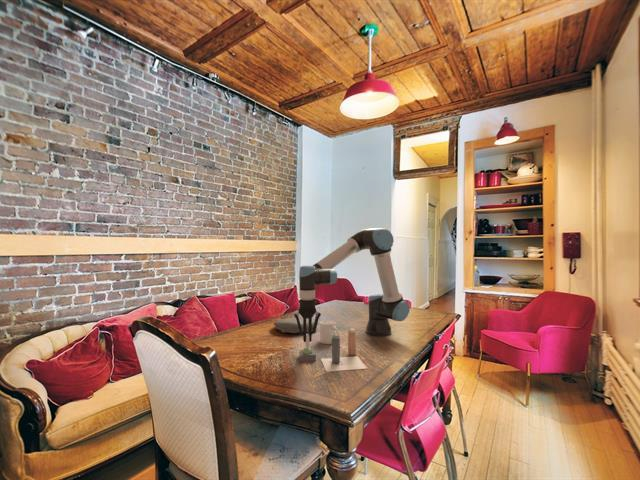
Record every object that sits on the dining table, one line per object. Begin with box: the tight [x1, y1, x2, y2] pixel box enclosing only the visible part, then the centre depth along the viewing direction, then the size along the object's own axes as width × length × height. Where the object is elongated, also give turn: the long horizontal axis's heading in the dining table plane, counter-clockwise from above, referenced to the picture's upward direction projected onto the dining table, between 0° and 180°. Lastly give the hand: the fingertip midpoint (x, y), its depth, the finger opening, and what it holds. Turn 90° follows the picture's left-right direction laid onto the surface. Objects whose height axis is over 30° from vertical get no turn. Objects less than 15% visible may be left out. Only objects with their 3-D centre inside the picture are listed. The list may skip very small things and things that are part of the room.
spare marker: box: [347, 328, 357, 357], centre depth 147 cm, size 4×4×12 cm
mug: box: [319, 320, 340, 345], centre depth 166 cm, size 9×12×11 cm
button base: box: [298, 348, 317, 363], centre depth 143 cm, size 7×7×3 cm
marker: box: [331, 333, 341, 364], centre depth 137 cm, size 4×4×12 cm
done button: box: [302, 347, 313, 354], centre depth 143 cm, size 4×4×4 cm
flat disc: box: [273, 316, 315, 335], centre depth 192 cm, size 28×28×4 cm
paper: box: [320, 355, 368, 373], centre depth 136 cm, size 18×14×1 cm
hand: (307, 348), depth 143 cm, fingers closed
